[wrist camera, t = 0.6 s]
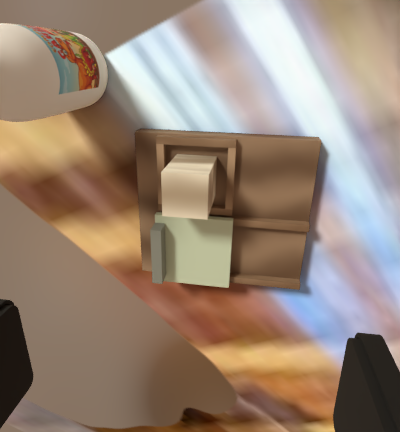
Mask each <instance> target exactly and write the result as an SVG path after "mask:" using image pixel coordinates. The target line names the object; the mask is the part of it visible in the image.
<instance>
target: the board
mask: <svg viewBox="0 0 400 432" xmlns="http://www.w3.org/2000/svg"><path fill="white" fill-rule="evenodd" d="M135 145H136V163H137V181H138V199H139V217H140V235H141V253H142V270H145V271H152V260H151V236H150V230H151V228H152V227H153V225H154V223H155V214H156V212H162V188H161V172H162V171H163V169H164V168H165V167H166V166H167V165H168V164H169V163H170V161H171V160H172V159H173V158H174V157H175V156H176V155H177V154H182V155H200V156H217V170H216V195H215V198H214V201H213V204H212V207H211V210H210V213H209V216H213V217H225V218H233V232H232V248H231V264H230V280H229V282H231V283H240V284H250V285H260V286H269V287H279V288H289V289H298V290H300V273H301V267H302V261H303V254H304V248H305V242H306V235H307V232H309V227H310V225H309V216H310V210H311V204H312V197H313V191H314V185H315V178H316V172H317V166H318V159H319V153H320V147H321V140H320V138H319V137H305V136H284V135H263V134H242V133H221V132H200V131H179V130H158V129H139V130H137V131H135Z"/></svg>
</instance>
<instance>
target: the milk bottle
mask: <svg viewBox="0 0 400 432" xmlns="http://www.w3.org/2000/svg"><path fill="white" fill-rule="evenodd" d="M107 81H108V70H107V65H106V62H105V59H104V57H103V55H102V53H101V51H100V50H99V48H98V47H97V46H96V45H95V44H94V43H93V42H92V41H91V40H90V39H88V38H87V37H85V36H83V35H81V34H78V33H73V32H68V31H62V30H56V29H49V28H42V27H35V26H27V25H19V24H6V23H3V24H2V23H1V24H0V120H4V121H12V122H24V121H31V120H37V119H42V118H46V117H50V116H54V115H58V114H62V113H66V112H70V111H73V110H77V109H81V108H84V107H87V106H90V105H92V104H94V103H95V102H97V101H98V100H99V99H100V98H101V96H102V95H103V93H104V91H105V89H106V86H107Z"/></svg>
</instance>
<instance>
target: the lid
mask: <svg viewBox="0 0 400 432" xmlns="http://www.w3.org/2000/svg"><path fill="white" fill-rule="evenodd" d="M232 232H233V218H225V217H213V216H208V219H207V220H205V219H192V218H180V217H168V216H162V212H156V214H155V223H154V225H153V227H152V228H151V230H150V236H151V260H152V283H160V284H162V283H163V281H168V282H178V283H187V284H197V285H206V286H215V287H225V288H229V280H230V264H231V248H232Z"/></svg>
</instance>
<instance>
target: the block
mask: <svg viewBox="0 0 400 432" xmlns="http://www.w3.org/2000/svg"><path fill="white" fill-rule="evenodd" d="M216 170H217V156H200V155H182V154H177V155H176V156H175V157H174V158H173V159H172V160H171V161H170V163H169V164H168V165H167V166H166V167H165V168H164V169H163V171H162V172H161V188H162V216H168V217H180V218H192V219H205V220H207V219H208V216H209V213H210V210H211V207H212V204H213V201H214V198H215V195H216Z"/></svg>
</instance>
